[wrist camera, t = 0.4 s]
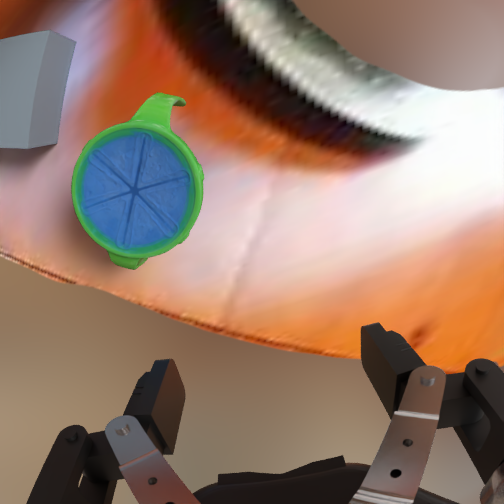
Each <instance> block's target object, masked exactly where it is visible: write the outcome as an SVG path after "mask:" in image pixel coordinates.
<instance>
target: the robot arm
mask: <svg viewBox="0 0 504 504" xmlns="http://www.w3.org/2000/svg"><path fill="white" fill-rule="evenodd" d="M361 360H362V365H363V368H364V370H365V372H366V374H367V375H368V378H369V379H370V381H371V383H372V385H373V387H374V389H375V390H376V392H377V394H378V396H379V398H380V400H381V402H382V403H383V405H384V407H385V409H386V411H387V413H388V415H389V417H390V419H391V422H390V425H389V427H388V430H387V432H386V434H385V437H384V439H383V441H382V443H381V446H380V448H379V450H378V452H377V455H376V457H375V459H374V461H373V463H372V465H366V464H360V463H345V460H344V457H343V456H338V457H334V458H330V459H326V460H320V461H316V462H312V463H310V464H307V465H304V466H302V467H299V468H297V469H294V470H291V471H289V472H286V473H283V474H269V473H255V472H241V473H230V474H218V482H217V483H214V484H211V485H208V486H206V487H203V488H201V489H199V490H198V491H196V492H194V493H193V494H192V493H191V492H190V490H189V489H188V488H187V487H186V486H185V484H184V483H183V482H182V481H181V479H180V478H179V477H178V475H177V474H176V473H175V472H174V470H173V469H172V468H171V466H170V465H169V464H168V463H167V461H166V460H165V458H164V457H163V454H164V455H165V454H166V455H172V454H173V452H174V448H175V443H176V439H177V433H178V429H179V424H180V420H181V416H182V411H183V407H184V402H185V389H184V385H183V383H182V380H181V377H180V375H179V372H178V369H177V367H176V364H175V362H174V360H173V359H164V360H156V361H155V362H154V364H153V367H152V369H151V371H150V372H146V373H145V374H144V375H143V376H142V377H141V378H140V379H139V380H138V382H137V384H136V386H135V389H134V391H133V393H132V396H131V398H130V400H129V402H128V404H127V407H126V409H125V411H124V414H123V416H120V417H117V418H115V419H113V420H111V421H110V422H109V423H108V424H107V426H106V428H105V431H100V432H95V433H90V434H88V433H87V431H86V429H85V428H84V427H82V426H80V425H72V426H69V427H66V428H65V429H63V430H62V431H61V432H60V433H59V435H58V436H57V439H56V441H55V443H54V444H53V446H52V449H51V451H50V453H49V455H48V457H47V459H46V461H45V463H44V465H43V467H42V470H41V472H40V474H39V476H38V478H37V480H36V483H35V485H34V487H33V489H32V492H31V494H30V496H29V499H28V501H27V504H112V500H113V496H114V492H115V488H116V484H117V480H119V479H125V480H126V482H127V484H128V486H129V487H130V489H131V491H132V493H133V495H134V496H135V498H136V500H137V501H138V503H139V504H459V503H457V502H454V501H451V500H449V499H446V498H443V497H441V496H438V495H436V494H434V493H431V492H429V491H426V490H424V489H422V488H420V487H419V485H420V482H421V479H422V476H423V473H424V470H425V467H426V464H427V461H428V458H429V454H430V451H431V447H432V444H433V440H434V437H435V433H436V429H441V428H448V427H453V428H454V430H455V432H456V433H457V435H458V437H459V438H460V440H461V442H462V444H463V446H464V447H465V449H466V451H467V453H468V454H469V456H470V458H471V460H472V462H473V464H474V465H475V467H476V469H477V471H478V473H479V475H480V477H481V478H482V480H483V482H484V484H485V486H484V487H483V489H482V491H481V494H480V502H481V504H504V373H503V371H502V370H501V369H500V368H499V367H498V366H497V365H496V364H495V363H494V362H492V361H490V360H488V359H475V360H472V361H470V362H469V363H468V364H467V366H466V368H465V372H462V373H455V374H445V373H444V371H443V370H442V369H440V368H438V367H435V366H427V365H426V364H425V363H424V362H423V360H422V359H421V358H420V357H419V356H418V354H417V353H416V352H415V351H414V350H413V348H411V346H410V345H409V344H408V343H407V341H406V340H405V339H404V338H403V337H402V336H401V335H400V334H398V333H396V332H394V331H392V330H391V331H388V332H386V331H385V329H384V328H383V327H382V326H381V324H380V323H378V322H377V323H374V324H370V325H366V326H362V327H361ZM82 474H83V477H82V480H81V483H80V486H79V487H78V484H79V480H80V477H81V475H82Z"/></svg>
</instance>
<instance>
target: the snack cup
mask: <svg viewBox="0 0 504 504" xmlns="http://www.w3.org/2000/svg"><path fill="white" fill-rule="evenodd" d="M185 105H186V102H185V100H184V99H182V98H181V97H178V96H173V95H169V94H164V93H155V94H154V95H153V96H151V97H150V98H149V99H147V100H146V101H145V102H144V104H143V105H142V106H141V107H140V108H139V109H138V111H137V112H136V113H135V115H134V116H133V117H132V118H131V120H129V121H128V122H125V123H121V124H118V125H114V126H112V127H110V128H107V129H106V130H104V131H102V132H100V133H99V134H98V135H96V136H95V137H94V138H93V139H92V140H89V141H88V143H87V144H86V145H85V146H84V148H83V150H82V153H81V154H80V156H79V158H78V160H77V162H76V165H75V168H74V171H73V176H72V185H71V192H72V200H73V205H74V209H75V213H76V215H77V217H78V219H79V221H80V223H81V225H82V227H83V228H84V230H85V231H86V232H87V233H88V235H89V236H90V237H91V238H92V239H93V240H94V241H95V242H96V243H97V244H99V245H100V246H101V247H103V248H104V249H106V250H107V252H108V254H109V257H110V259H111V261H112V262H113V263H114V264H116V265H118V266H121V267H124V268H128V269H133V270H135V269H137V268H138V267H139V266H141V265H142V264H143V263H144V262H145V261H146V260H147V259H148V257H153V256H157V255H160V254H162V253H165V252H167V251H169V250H170V249H172V248H173V247H175V246H176V245H177V244H181V243H182V242H183V241H184V240H185V239H186V238H187V237H188V235H189V232H190V230H191V229H192V227H193V225H194V223H195V221H196V219H197V217H198V215H199V212H200V209H201V205H202V201H203V180H204V174H203V170H202V167H201V165H200V164H199V163H198V162H197V159H196V157H195V156H194V154H193V152H192V151H191V150H190V148H189V147H188V146H187V144H186V143H185V142H184V141H183V140H182V139H181V138H180V137H178V136H177V135H176V134H174V133H173V132H172V130H171V128H170V115H171V110H172V106H185Z"/></svg>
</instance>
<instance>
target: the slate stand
mask: <svg viewBox="0 0 504 504" xmlns="http://www.w3.org/2000/svg"><path fill="white" fill-rule="evenodd" d="M75 45H76V41H74V40H71V39H69V38H67V37H65V36H63V35H60V34H58V33H56V32H54V31H51V30H46V31H40V32H34V33H28V34H23V35H18V36H14V37H9V38H5V39H1V40H0V148H21V149H29V148H34V147H40V146H45V145H51V144H57V141H58V133H59V125H60V118H61V111H62V105H63V99H64V93H65V88H66V83H67V78H68V74H69V69H70V65H71V61H72V56H73V52H74V49H75Z"/></svg>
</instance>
